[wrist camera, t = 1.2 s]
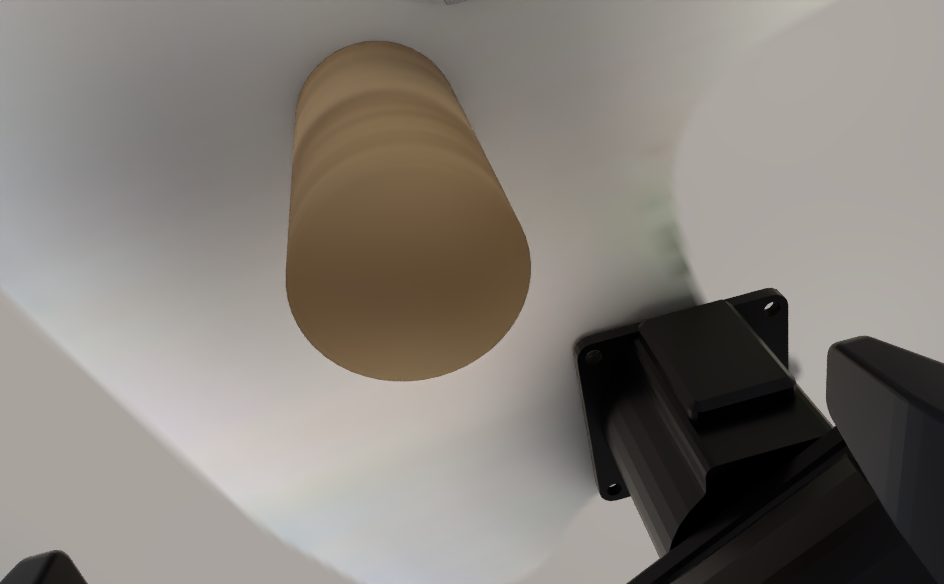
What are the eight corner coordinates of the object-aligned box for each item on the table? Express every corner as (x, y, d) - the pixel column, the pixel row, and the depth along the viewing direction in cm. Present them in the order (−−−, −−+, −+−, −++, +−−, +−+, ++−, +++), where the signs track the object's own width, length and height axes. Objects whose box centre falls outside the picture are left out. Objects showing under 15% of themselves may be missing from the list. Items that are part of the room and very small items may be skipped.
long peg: (473, 176, 21) (547, 346, 15) (323, 215, 21) (327, 406, 14) (439, 22, 19) (507, 137, 12) (272, 64, 19) (249, 203, 12)
